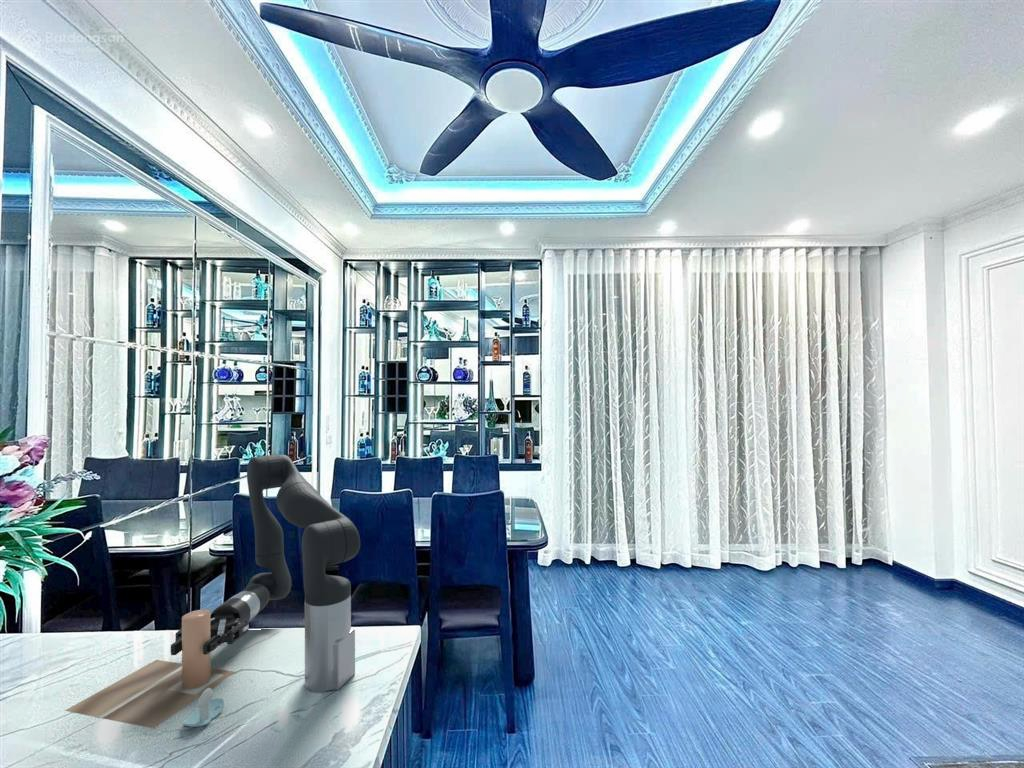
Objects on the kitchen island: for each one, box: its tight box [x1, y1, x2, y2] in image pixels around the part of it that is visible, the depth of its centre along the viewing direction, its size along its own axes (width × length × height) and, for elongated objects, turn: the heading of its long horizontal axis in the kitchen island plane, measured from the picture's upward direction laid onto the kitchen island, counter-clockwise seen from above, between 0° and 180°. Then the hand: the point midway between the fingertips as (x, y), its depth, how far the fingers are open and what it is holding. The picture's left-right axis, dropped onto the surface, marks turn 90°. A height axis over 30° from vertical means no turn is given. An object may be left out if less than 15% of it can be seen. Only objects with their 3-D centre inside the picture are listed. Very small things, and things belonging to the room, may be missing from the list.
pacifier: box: [179, 688, 225, 731], centre depth 86 cm, size 7×6×6 cm
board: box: [64, 659, 236, 729], centre depth 95 cm, size 22×18×1 cm
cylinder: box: [181, 608, 212, 689], centre depth 98 cm, size 5×5×14 cm
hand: (189, 650), depth 96 cm, fingers open, 6 cm apart
